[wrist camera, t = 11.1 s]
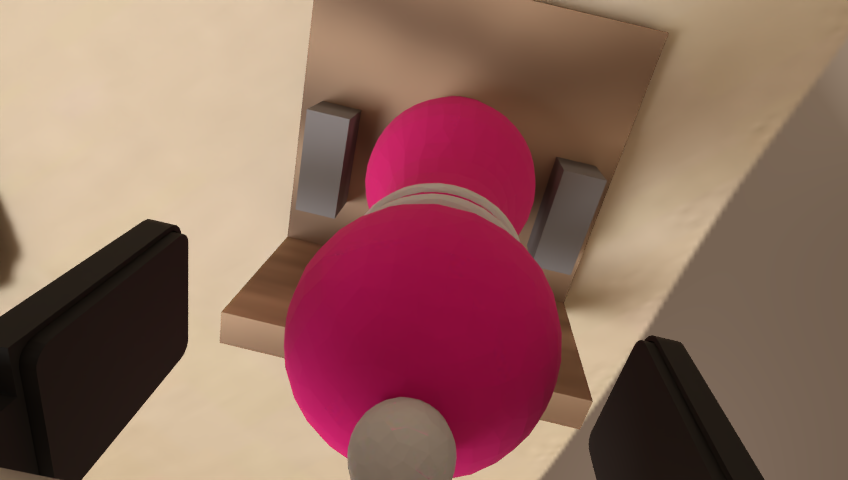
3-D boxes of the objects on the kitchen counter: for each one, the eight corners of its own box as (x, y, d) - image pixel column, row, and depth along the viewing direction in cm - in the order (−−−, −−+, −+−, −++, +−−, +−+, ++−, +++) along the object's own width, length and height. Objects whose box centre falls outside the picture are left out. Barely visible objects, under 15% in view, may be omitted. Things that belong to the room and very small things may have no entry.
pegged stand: (328, -46, 24) (241, -84, 15) (657, 32, 24) (759, 39, 15) (293, 250, 30) (219, 342, 22) (551, 312, 30) (579, 429, 22)
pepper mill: (380, 215, 27) (181, 608, 9) (389, 76, 24) (121, 247, 6) (513, 232, 27) (584, 679, 9) (539, 93, 24) (729, 330, 6)
